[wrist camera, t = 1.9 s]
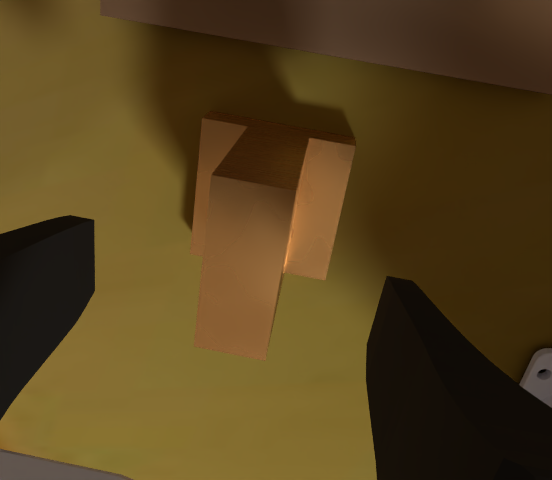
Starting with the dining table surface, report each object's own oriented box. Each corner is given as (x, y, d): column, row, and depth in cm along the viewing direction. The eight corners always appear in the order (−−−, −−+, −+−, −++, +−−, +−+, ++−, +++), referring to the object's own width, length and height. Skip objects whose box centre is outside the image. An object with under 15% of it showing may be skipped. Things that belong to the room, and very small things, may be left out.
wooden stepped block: (326, 264, 19) (319, 371, 14) (198, 240, 19) (141, 335, 14) (355, 136, 17) (361, 203, 12) (211, 110, 17) (148, 163, 12)
